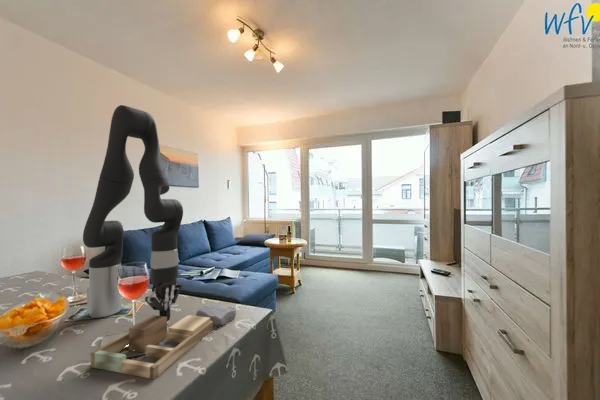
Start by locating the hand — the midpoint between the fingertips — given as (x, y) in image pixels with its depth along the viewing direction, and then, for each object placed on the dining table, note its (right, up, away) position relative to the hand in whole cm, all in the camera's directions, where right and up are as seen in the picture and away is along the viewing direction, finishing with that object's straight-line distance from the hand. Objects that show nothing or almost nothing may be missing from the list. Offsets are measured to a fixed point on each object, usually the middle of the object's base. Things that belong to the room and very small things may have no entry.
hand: (164, 321), depth 77 cm
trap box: (+2, -3, -7) cm, 8 cm away
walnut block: (-1, -4, -6) cm, 7 cm away
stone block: (+13, -4, +10) cm, 17 cm away
